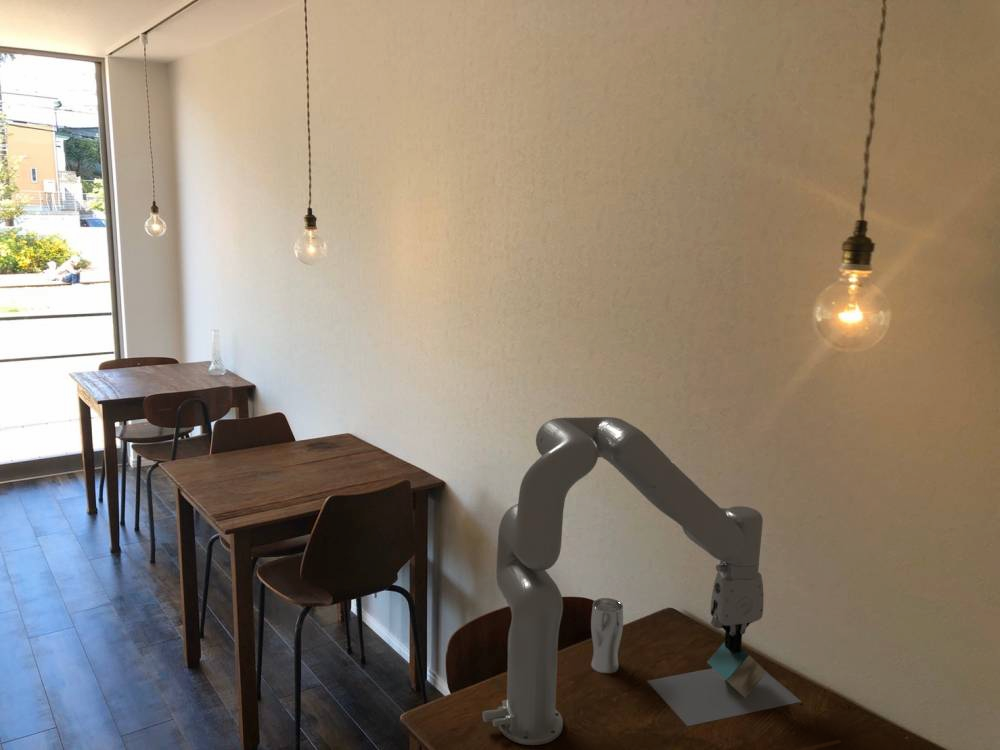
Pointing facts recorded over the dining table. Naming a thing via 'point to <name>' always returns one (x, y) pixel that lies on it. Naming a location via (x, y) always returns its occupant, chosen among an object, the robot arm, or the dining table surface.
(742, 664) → the birch cube
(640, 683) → the dining table surface
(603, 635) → the beer glass
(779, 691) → the rubber mat
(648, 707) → the dining table surface
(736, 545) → the robot arm
